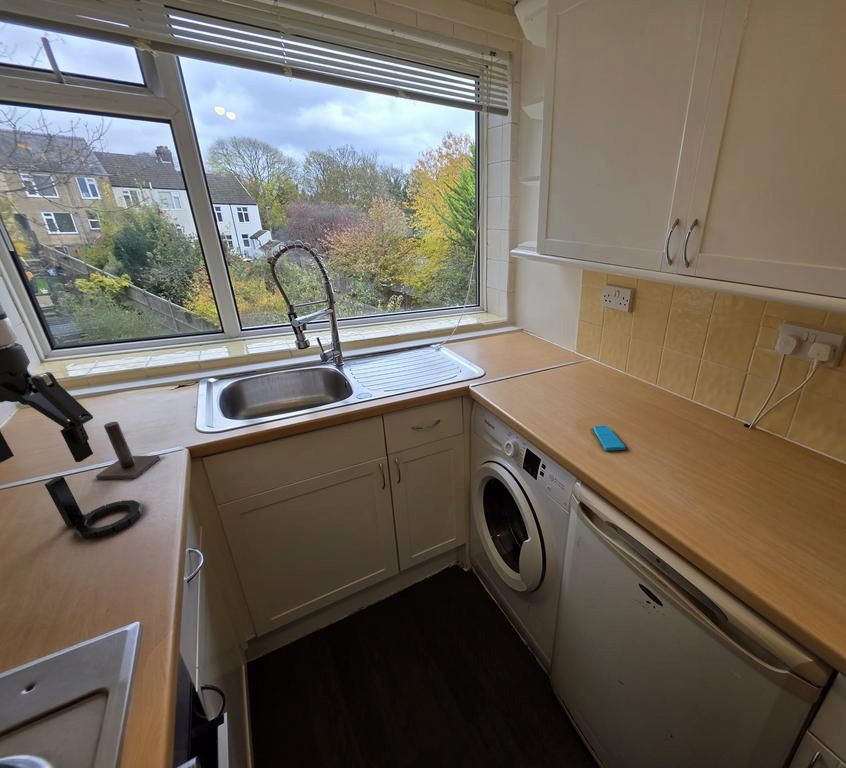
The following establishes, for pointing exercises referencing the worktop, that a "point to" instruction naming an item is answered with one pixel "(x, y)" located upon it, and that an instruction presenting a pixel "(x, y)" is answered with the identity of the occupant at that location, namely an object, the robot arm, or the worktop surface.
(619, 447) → the sponge
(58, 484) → the ring
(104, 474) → the peg stand
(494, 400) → the worktop surface
